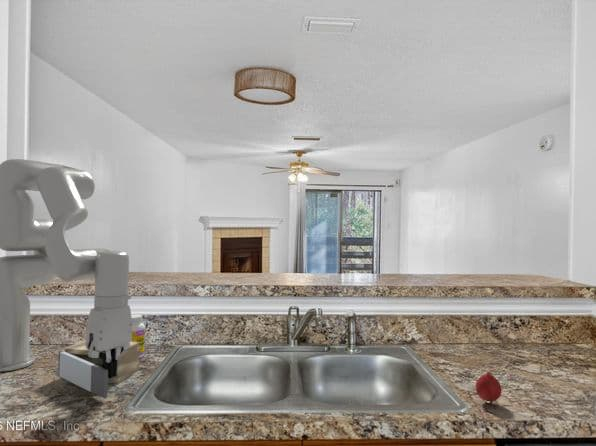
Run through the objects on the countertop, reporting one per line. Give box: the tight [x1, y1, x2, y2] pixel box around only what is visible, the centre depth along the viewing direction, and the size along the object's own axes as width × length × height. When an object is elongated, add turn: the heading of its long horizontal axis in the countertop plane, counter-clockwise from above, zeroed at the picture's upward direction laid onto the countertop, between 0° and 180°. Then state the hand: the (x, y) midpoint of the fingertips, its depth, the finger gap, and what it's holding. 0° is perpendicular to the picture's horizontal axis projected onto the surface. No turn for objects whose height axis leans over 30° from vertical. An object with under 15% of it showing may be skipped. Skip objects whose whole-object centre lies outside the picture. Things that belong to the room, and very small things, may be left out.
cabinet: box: [64, 339, 140, 384], centre depth 115 cm, size 16×10×8 cm, turn 80°
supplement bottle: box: [131, 313, 146, 359], centre depth 130 cm, size 7×7×13 cm
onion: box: [475, 371, 502, 403], centre depth 102 cm, size 6×6×8 cm
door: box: [57, 350, 109, 399], centre depth 104 cm, size 23×1×6 cm, turn 54°
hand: (109, 376), depth 102 cm, fingers closed
